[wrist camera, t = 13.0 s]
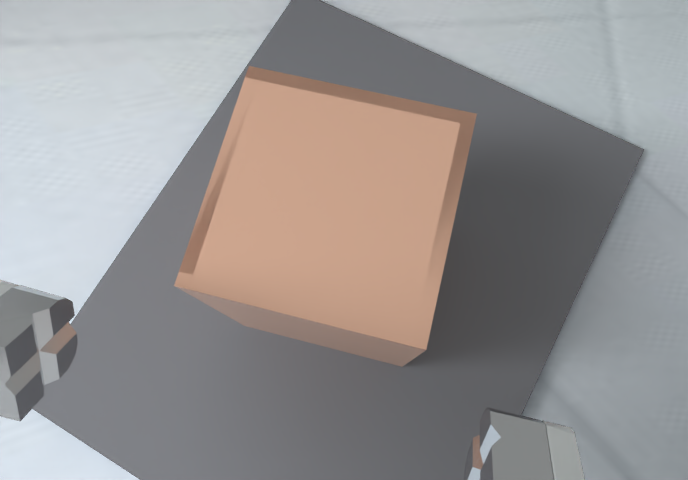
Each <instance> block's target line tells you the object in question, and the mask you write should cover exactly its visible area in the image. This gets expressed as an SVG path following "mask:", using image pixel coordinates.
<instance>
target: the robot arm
mask: <svg viewBox="0 0 688 480" xmlns="http://www.w3.org/2000/svg"><path fill="white" fill-rule="evenodd" d="M73 317H74V309H73V303H72V301H70V300H68V299H67V298H64V297H61V296H57V295H54V294H50V293H47V292H43V291H40V290H36V289H33V288H29V287H26V286H22V285H16V284H13V283H10V282H6V281H3V280H0V416H1V417H5V418H9V419H13V420H17V421H21V420H22V419H23V418H24V417H25V416H26V415H27V414H28V412H29V411H30V410H31V409H32V408H33V407H34V406H35V405H36V404H37V403H38V402H39V401H40V400H41V398H42V397H43V396H44V385H46V384H48V383H51V382H53V381H56V380H58V379H60V378H61V377H62V376H63V374H64V373H65V372H66V371H67V370H68V369H69V367H70V365H71V363H72V361H73V359H74V357H75V355H76V350H77V344H78V341H77V333H76V331H75V330H74V329H73V328H72V326H71V325H70V324H69V321H70V320H71V319H72V318H73ZM464 480H585V478H584V473H583V468H582V464H581V459H580V455H579V450H578V445H577V441H576V436H575V432H574V431H573V430H572V428H570V427H566V426H562V425H558V424H554V423H550V422H546V421H540V420H537V419H533V418H529V417H525V416H521V415H517V414H513V413H509V412H505V411H501V410H497V409H493V408H489V407H487V408H486V409H485V411H484V412H483V414H482V417H481V419H480V435H478V436H476V437H474V438H473V439H472V442H471V445H470V447H469V450H468V454H467V458H466V463H465V469H464Z"/></svg>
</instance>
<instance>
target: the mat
mask: <svg viewBox="0 0 688 480" xmlns="http://www.w3.org/2000/svg"><path fill="white" fill-rule="evenodd" d="M249 66H252V67H257V68H262V69H267V70H271V71H276V72H281V73H286V74H290V75H295V76H300V77H305V78H309V79H314V80H319V81H324V82H328V83H333V84H338V85H343V86H347V87H352V88H357V89H362V90H366V91H371V92H376V93H381V94H385V95H390V96H395V97H400V98H404V99H409V100H414V101H419V102H423V103H428V104H433V105H438V106H442V107H447V108H452V109H457V110H461V111H466V112H471V113H476V114H477V116H476V121H475V125H474V130H473V135H472V139H471V144H470V149H469V153H468V158H467V163H466V167H465V172H464V177H463V181H462V186H461V191H460V195H459V200H458V205H457V209H456V214H455V218H454V223H453V228H452V232H451V237H450V242H449V246H448V251H447V256H446V260H445V265H444V270H443V274H442V279H441V284H440V288H439V293H438V298H437V302H436V307H435V312H434V316H433V321H432V326H431V330H430V335H429V340H428V344H427V349H426V351H424V352H423V353H421V354H420V355H418V356H417V357H416V358H414V359H413V360H411V361H410V362H408V363H407V364H406V365H404V366H403V367H401V366H397V365H393V364H389V363H386V362H382V361H378V360H374V359H370V358H366V357H362V356H358V355H355V354H351V353H347V352H343V351H339V350H335V349H331V348H328V347H324V346H320V345H316V344H312V343H308V342H304V341H301V340H297V339H293V338H289V337H285V336H281V335H277V334H274V333H270V332H266V331H262V330H258V329H254V328H250V327H247V326H244V325H242V324H240V323H238V322H237V321H235V320H233V319H231V318H230V317H228V316H226V315H224V314H223V313H221V312H219V311H217V310H216V309H214V308H212V307H210V306H209V305H207V304H205V303H203V302H202V301H200V300H198V299H196V298H195V297H193V296H191V295H189V294H188V293H186V292H184V291H182V290H181V289H179V288H177V287H175V286H174V284H175V281H176V278H177V276H178V273H179V270H180V267H181V264H182V261H183V258H184V255H185V252H186V249H187V246H188V243H189V240H190V237H191V234H192V231H193V229H194V226H195V223H196V220H197V217H198V214H199V211H200V208H201V205H202V202H203V199H204V196H205V193H206V190H207V187H208V184H209V181H210V179H211V176H212V173H213V170H214V167H215V164H216V161H217V158H218V155H219V152H220V149H221V146H222V143H223V140H224V137H225V134H226V131H227V129H228V126H229V123H230V120H231V117H232V114H233V111H234V108H235V105H236V102H237V99H238V96H239V93H240V90H241V87H242V84H243V82H244V79H245V76H246V73H247V70H248V67H249ZM643 151H644V149H642V148H640V147H638V146H635V145H633V144H631V143H629V142H627V141H625V140H622V139H620V138H618V137H616V136H614V135H612V134H609V133H607V132H605V131H603V130H601V129H598V128H596V127H594V126H592V125H590V124H588V123H585V122H583V121H581V120H579V119H577V118H575V117H572V116H570V115H568V114H566V113H564V112H562V111H559V110H557V109H555V108H553V107H551V106H548V105H546V104H544V103H542V102H540V101H538V100H535V99H533V98H531V97H529V96H527V95H525V94H522V93H520V92H518V91H516V90H514V89H511V88H509V87H507V86H505V85H503V84H501V83H498V82H496V81H494V80H492V79H490V78H488V77H485V76H483V75H481V74H479V73H477V72H474V71H472V70H470V69H468V68H466V67H464V66H461V65H459V64H457V63H455V62H453V61H451V60H448V59H446V58H444V57H442V56H440V55H437V54H435V53H433V52H431V51H429V50H427V49H424V48H422V47H420V46H418V45H416V44H414V43H411V42H409V41H407V40H405V39H403V38H401V37H398V36H396V35H394V34H392V33H390V32H387V31H385V30H383V29H381V28H379V27H377V26H374V25H372V24H370V23H368V22H366V21H364V20H361V19H359V18H357V17H355V16H353V15H350V14H348V13H346V12H344V11H342V10H340V9H337V8H335V7H333V6H331V5H329V4H327V3H324V2H322V1H320V0H291V2H290V3H289V5H288V6H287V8H286V9H285V11H284V12H283V14H282V15H281V16H280V18H279V19H278V21H277V22H276V24H275V25H274V27H273V28H272V30H271V31H270V33H269V34H268V36H267V37H266V38H265V40H264V41H263V43H262V44H261V46H260V47H259V49H258V50H257V52H256V53H255V55H254V56H253V58H252V59H251V60H250V62H249V63H248V65H247V66H246V68H245V69H244V71H243V72H242V74H241V75H240V77H239V78H238V80H237V81H236V82H235V84H234V85H233V87H232V88H231V90H230V91H229V93H228V94H227V96H226V97H225V99H224V100H223V102H222V103H221V104H220V106H219V107H218V109H217V110H216V112H215V113H214V115H213V116H212V118H211V119H210V121H209V122H208V124H207V125H206V126H205V128H204V129H203V131H202V132H201V134H200V135H199V137H198V138H197V140H196V141H195V143H194V144H193V146H192V147H191V148H190V150H189V151H188V153H187V154H186V156H185V157H184V159H183V160H182V162H181V163H180V165H179V166H178V168H177V169H176V170H175V172H174V173H173V175H172V176H171V178H170V179H169V181H168V182H167V184H166V185H165V187H164V188H163V190H162V191H161V192H160V194H159V195H158V197H157V198H156V200H155V201H154V203H153V204H152V206H151V207H150V209H149V210H148V212H147V213H146V214H145V216H144V217H143V219H142V220H141V222H140V223H139V225H138V226H137V228H136V229H135V231H134V232H133V234H132V235H131V236H130V238H129V239H128V241H127V242H126V244H125V245H124V247H123V248H122V250H121V251H120V253H119V254H118V256H117V257H116V258H115V260H114V261H113V263H112V264H111V266H110V267H109V269H108V270H107V272H106V273H105V275H104V276H103V277H102V279H101V280H100V282H99V283H98V285H97V286H96V288H95V289H94V291H93V292H92V294H91V295H90V297H89V298H88V299H87V301H86V302H85V304H84V305H83V307H82V308H81V310H80V311H79V313H78V314H77V316H76V317H75V319H74V320H73V321H72V323H71V324H70V325H71V326H72V328H73V329H74V330H75V331H76V333H77V341H78V344H77V350H76V355H75V357H74V359H73V361H72V363H71V365H70V367H69V369H68V370H67V371H66V372H65V373H64V374H63V376H62V377H61V378H60V379H58V380H56V381H53V382H51V383H48V384H46V385H44V396H43V397H42V398H41V400H40V401H39V402H38V403H37V404H36V405H35V406H34V407H33V408H32V409H34V410H35V411H37V412H38V413H40V414H41V415H43V416H44V417H46V418H47V419H49V420H50V421H52V422H53V423H55V424H56V425H58V426H59V427H61V428H62V429H64V430H65V431H67V432H68V433H70V434H72V435H73V436H75V437H76V438H78V439H79V440H81V441H82V442H84V443H85V444H87V445H88V446H90V447H91V448H93V449H94V450H96V451H97V452H99V453H100V454H102V455H103V456H105V457H106V458H108V459H109V460H111V461H113V462H114V463H116V464H117V465H119V466H120V467H122V468H123V469H125V470H126V471H128V472H129V473H131V474H132V475H134V476H135V477H137V478H138V479H140V480H464V469H465V463H466V458H467V454H468V450H469V447H470V445H471V442H472V439H473V438H474V437H476V436H478V435H480V419H481V417H482V414H483V412H484V411H485V409H486V408H487V407H489V408H493V409H497V410H501V411H505V412H509V413H513V414H517V415H521V414H522V412H523V410H524V408H525V406H526V403H527V401H528V399H529V397H530V395H531V393H532V390H533V388H534V386H535V384H536V382H537V380H538V378H539V375H540V373H541V371H542V369H543V367H544V365H545V362H546V360H547V358H548V356H549V354H550V352H551V349H552V347H553V345H554V343H555V341H556V339H557V336H558V334H559V332H560V330H561V328H562V326H563V323H564V321H565V319H566V317H567V315H568V313H569V311H570V308H571V306H572V304H573V302H574V300H575V298H576V295H577V293H578V291H579V289H580V287H581V285H582V282H583V280H584V278H585V276H586V274H587V272H588V269H589V267H590V265H591V263H592V261H593V259H594V257H595V254H596V252H597V250H598V248H599V246H600V244H601V241H602V239H603V237H604V235H605V233H606V231H607V228H608V226H609V224H610V222H611V220H612V218H613V215H614V213H615V211H616V209H617V207H618V205H619V202H620V200H621V198H622V196H623V194H624V192H625V190H626V187H627V185H628V183H629V181H630V179H631V177H632V174H633V172H634V170H635V168H636V166H637V164H638V161H639V159H640V157H641V155H642V153H643Z"/></svg>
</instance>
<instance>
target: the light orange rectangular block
mask: <svg viewBox="0 0 688 480" xmlns="http://www.w3.org/2000/svg"><path fill="white" fill-rule="evenodd" d="M476 116H477V114H476V113H471V112H466V111H461V110H457V109H452V108H447V107H442V106H438V105H433V104H428V103H423V102H419V101H414V100H409V99H404V98H400V97H395V96H390V95H385V94H381V93H376V92H371V91H366V90H362V89H357V88H352V87H347V86H343V85H338V84H333V83H328V82H324V81H319V80H314V79H309V78H305V77H300V76H295V75H290V74H286V73H281V72H276V71H271V70H267V69H262V68H257V67H252V66H249V67H248V70H247V73H246V76H245V79H244V82H243V84H242V87H241V90H240V93H239V96H238V99H237V102H236V105H235V108H234V111H233V114H232V117H231V120H230V123H229V126H228V129H227V131H226V134H225V137H224V140H223V143H222V146H221V149H220V152H219V155H218V158H217V161H216V164H215V167H214V170H213V173H212V176H211V179H210V181H209V184H208V187H207V190H206V193H205V196H204V199H203V202H202V205H201V208H200V211H199V214H198V217H197V220H196V223H195V226H194V229H193V231H192V234H191V237H190V240H189V243H188V246H187V249H186V252H185V255H184V258H183V261H182V264H181V267H180V270H179V273H178V276H177V278H176V281H175V284H174V286H175V287H177V288H179V289H181V290H182V291H184V292H186V293H188V294H189V295H191V296H193V297H195V298H196V299H198V300H200V301H202V302H203V303H205V304H207V305H209V306H210V307H212V308H214V309H216V310H217V311H219V312H221V313H223V314H224V315H226V316H228V317H230V318H231V319H233V320H235V321H237V322H238V323H240V324H242V325H244V326H247V327H250V328H254V329H258V330H262V331H266V332H270V333H274V334H277V335H281V336H285V337H289V338H293V339H297V340H301V341H304V342H308V343H312V344H316V345H320V346H324V347H328V348H331V349H335V350H339V351H343V352H347V353H351V354H355V355H358V356H362V357H366V358H370V359H374V360H378V361H382V362H386V363H389V364H393V365H397V366H401V367H403V366H404V365H406V364H407V363H408V362H410V361H411V360H413V359H414V358H416V357H417V356H418V355H420V354H421V353H423V352H424V351H426V349H427V344H428V340H429V335H430V330H431V326H432V321H433V316H434V312H435V307H436V302H437V298H438V293H439V288H440V284H441V279H442V274H443V270H444V265H445V260H446V256H447V251H448V246H449V242H450V237H451V232H452V228H453V223H454V218H455V214H456V209H457V205H458V200H459V195H460V191H461V186H462V181H463V177H464V172H465V167H466V163H467V158H468V153H469V149H470V144H471V139H472V135H473V130H474V125H475V121H476Z"/></svg>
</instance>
